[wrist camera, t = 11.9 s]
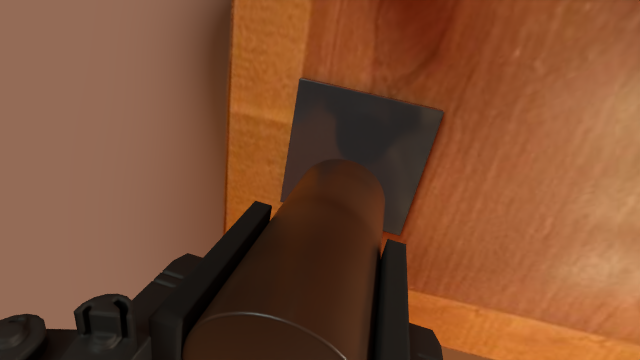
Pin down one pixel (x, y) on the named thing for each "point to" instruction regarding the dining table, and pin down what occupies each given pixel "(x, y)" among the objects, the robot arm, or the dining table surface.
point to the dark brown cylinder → (304, 277)
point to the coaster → (362, 140)
